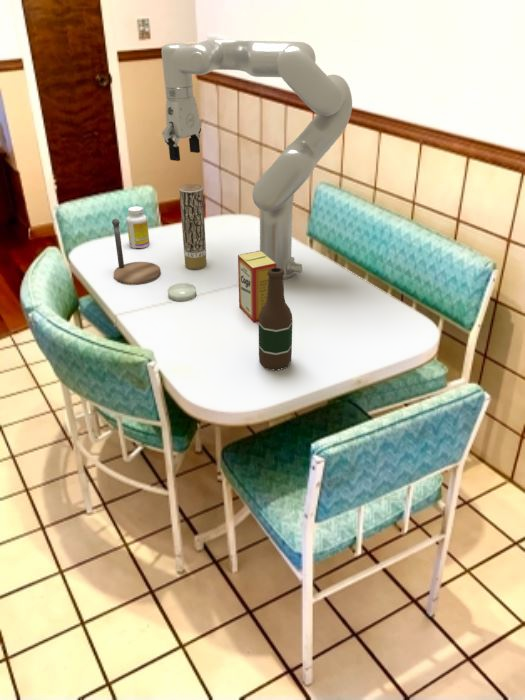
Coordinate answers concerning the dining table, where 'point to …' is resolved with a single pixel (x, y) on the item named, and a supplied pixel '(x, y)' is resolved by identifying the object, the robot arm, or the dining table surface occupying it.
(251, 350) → the dining table surface
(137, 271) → the holder base
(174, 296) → the sage dish
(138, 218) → the supplement bottle
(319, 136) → the robot arm
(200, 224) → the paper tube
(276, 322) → the beer bottle
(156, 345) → the dining table surface
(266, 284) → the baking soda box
